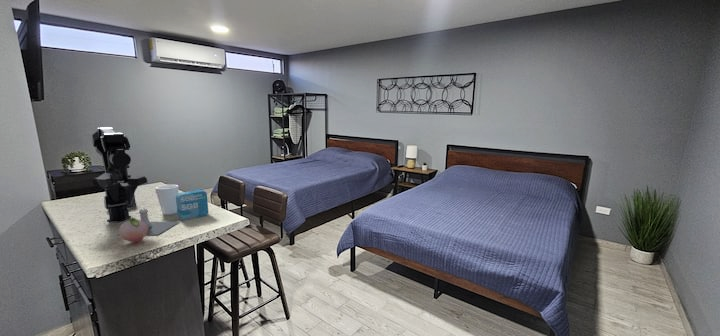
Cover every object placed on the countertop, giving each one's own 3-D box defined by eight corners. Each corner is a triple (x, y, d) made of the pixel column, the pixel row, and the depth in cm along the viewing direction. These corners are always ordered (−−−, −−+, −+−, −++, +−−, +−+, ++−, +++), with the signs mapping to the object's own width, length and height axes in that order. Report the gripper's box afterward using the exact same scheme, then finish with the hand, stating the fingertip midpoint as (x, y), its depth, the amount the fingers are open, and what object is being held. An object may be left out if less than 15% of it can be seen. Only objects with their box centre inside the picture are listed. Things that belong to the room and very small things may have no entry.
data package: (180, 221, 135) (177, 195, 133) (178, 218, 138) (175, 193, 136) (208, 215, 143) (206, 190, 141) (205, 212, 147) (203, 188, 144)
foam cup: (183, 208, 153) (180, 183, 150) (178, 214, 144) (175, 188, 142) (161, 210, 150) (158, 185, 147) (155, 216, 141) (152, 189, 139)
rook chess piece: (142, 225, 128) (140, 208, 127) (154, 225, 129) (151, 207, 127) (136, 229, 124) (134, 211, 122) (148, 229, 124) (145, 211, 123)
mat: (118, 235, 119) (118, 234, 119) (143, 222, 133) (143, 221, 133) (158, 235, 119) (158, 234, 119) (179, 222, 133) (179, 221, 133)
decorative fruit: (116, 244, 111) (112, 218, 110) (141, 236, 118) (138, 212, 117) (127, 250, 107) (124, 223, 105) (153, 241, 113) (150, 216, 112)
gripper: (76, 167, 113) (82, 207, 116) (125, 167, 113) (130, 207, 116) (101, 162, 124) (106, 199, 127) (145, 163, 124) (150, 199, 127)
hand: (123, 201), depth 124 cm, fingers open, 5 cm apart
